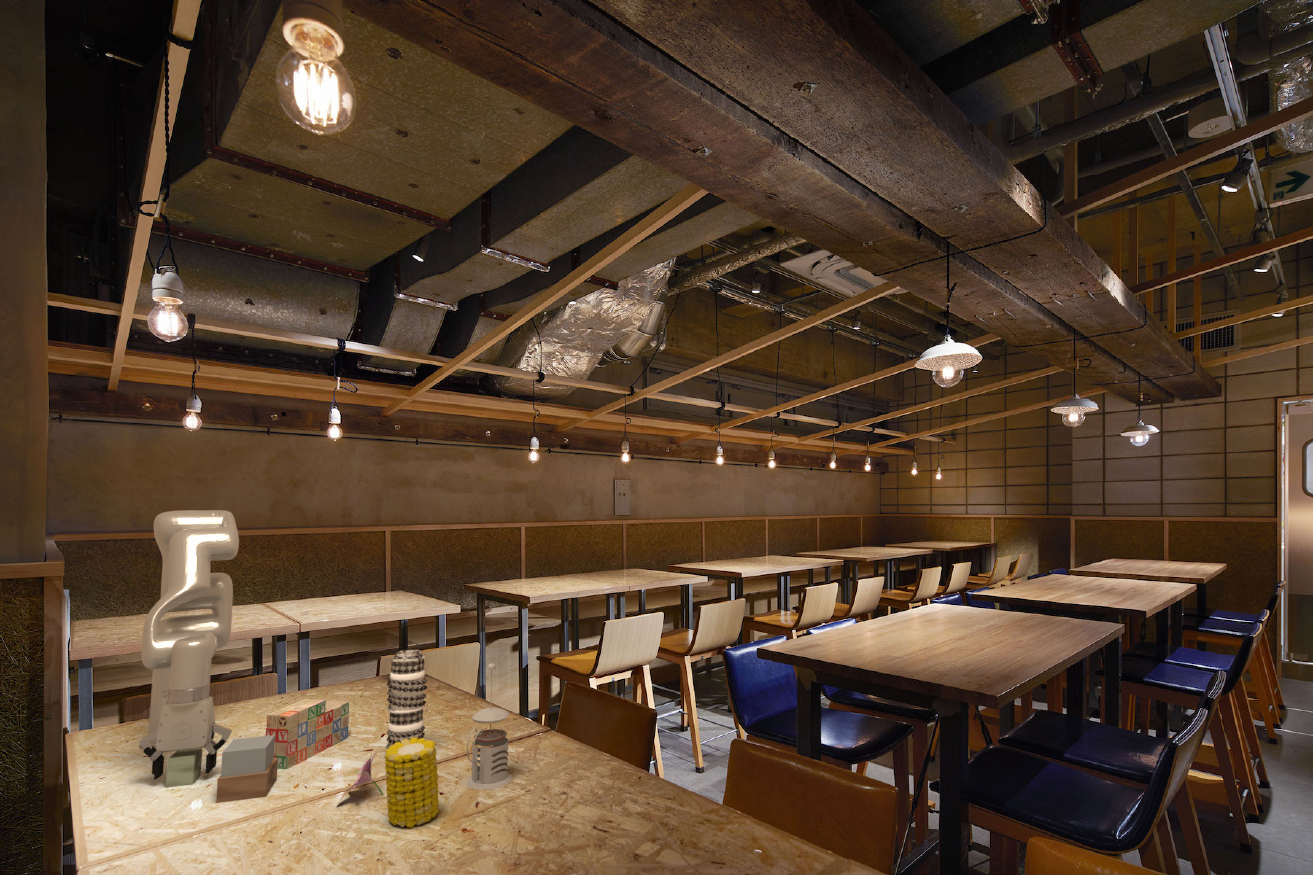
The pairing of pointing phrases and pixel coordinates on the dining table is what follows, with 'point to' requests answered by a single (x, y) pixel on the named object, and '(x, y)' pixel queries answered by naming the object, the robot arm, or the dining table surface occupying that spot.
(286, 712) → the stack of blocks
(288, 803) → the dining table surface
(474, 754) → the french press
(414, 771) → the food
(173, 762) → the sage block
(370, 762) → the lily
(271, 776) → the tower base
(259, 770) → the tower top
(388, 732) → the decorative candle
